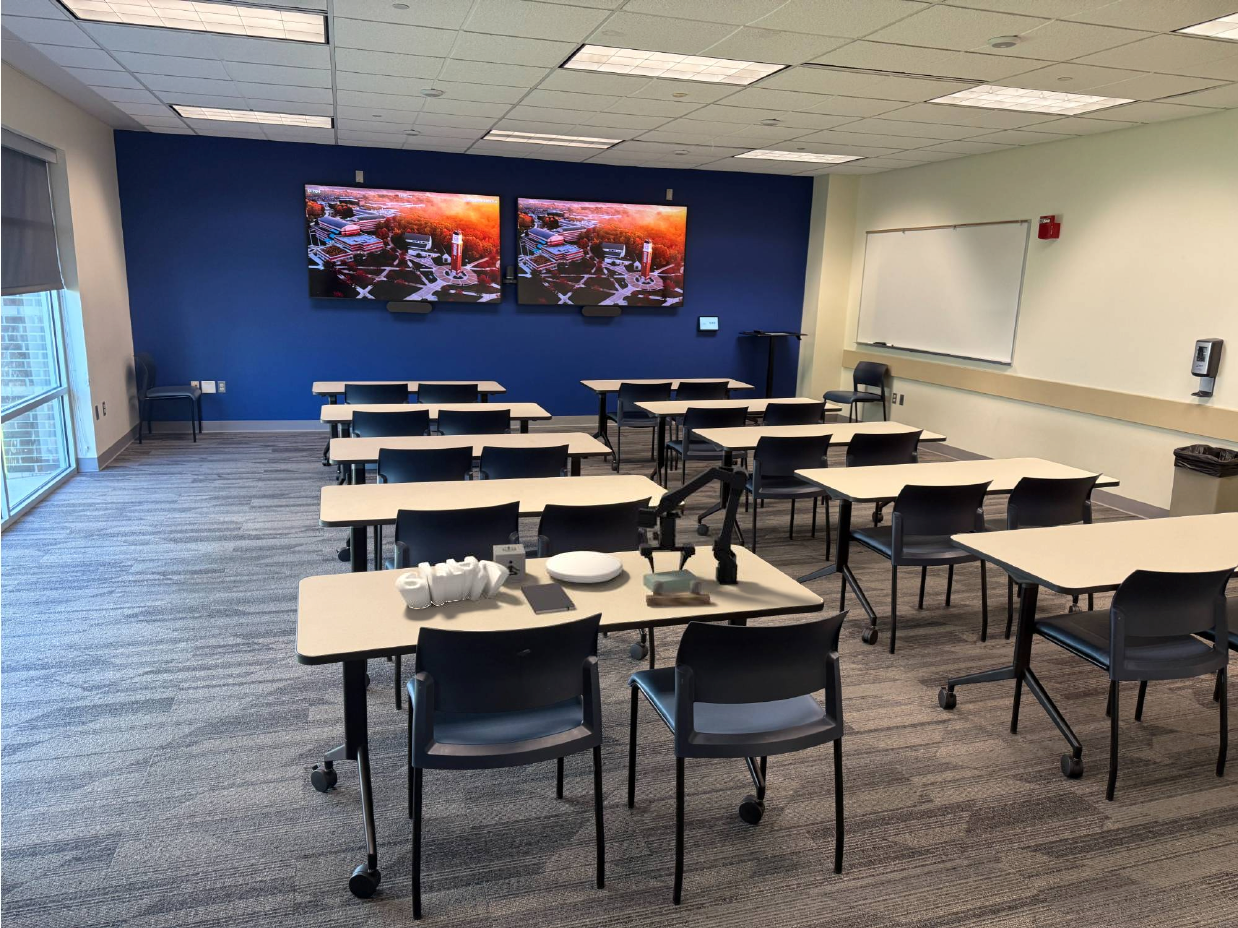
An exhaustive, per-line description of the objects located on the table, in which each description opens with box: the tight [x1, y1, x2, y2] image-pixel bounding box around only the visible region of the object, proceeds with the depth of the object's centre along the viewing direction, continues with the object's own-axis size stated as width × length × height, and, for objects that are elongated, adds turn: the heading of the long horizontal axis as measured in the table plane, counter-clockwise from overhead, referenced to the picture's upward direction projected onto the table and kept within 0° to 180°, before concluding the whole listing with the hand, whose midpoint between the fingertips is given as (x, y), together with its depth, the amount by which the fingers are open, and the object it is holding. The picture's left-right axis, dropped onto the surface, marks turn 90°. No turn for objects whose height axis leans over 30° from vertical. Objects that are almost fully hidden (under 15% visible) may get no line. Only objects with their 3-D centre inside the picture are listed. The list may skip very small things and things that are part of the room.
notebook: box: [520, 582, 576, 615], centre depth 257 cm, size 13×2×21 cm
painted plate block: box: [643, 568, 698, 593], centre depth 270 cm, size 16×8×4 cm, turn 112°
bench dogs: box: [645, 579, 711, 607], centre depth 256 cm, size 20×6×6 cm, turn 96°
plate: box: [544, 550, 624, 584], centre depth 279 cm, size 28×6×27 cm
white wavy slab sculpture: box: [395, 555, 509, 608], centre depth 256 cm, size 35×16×10 cm, turn 114°
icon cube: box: [492, 543, 527, 584], centre depth 275 cm, size 10×10×10 cm
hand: (666, 573), depth 278 cm, fingers open, 9 cm apart
